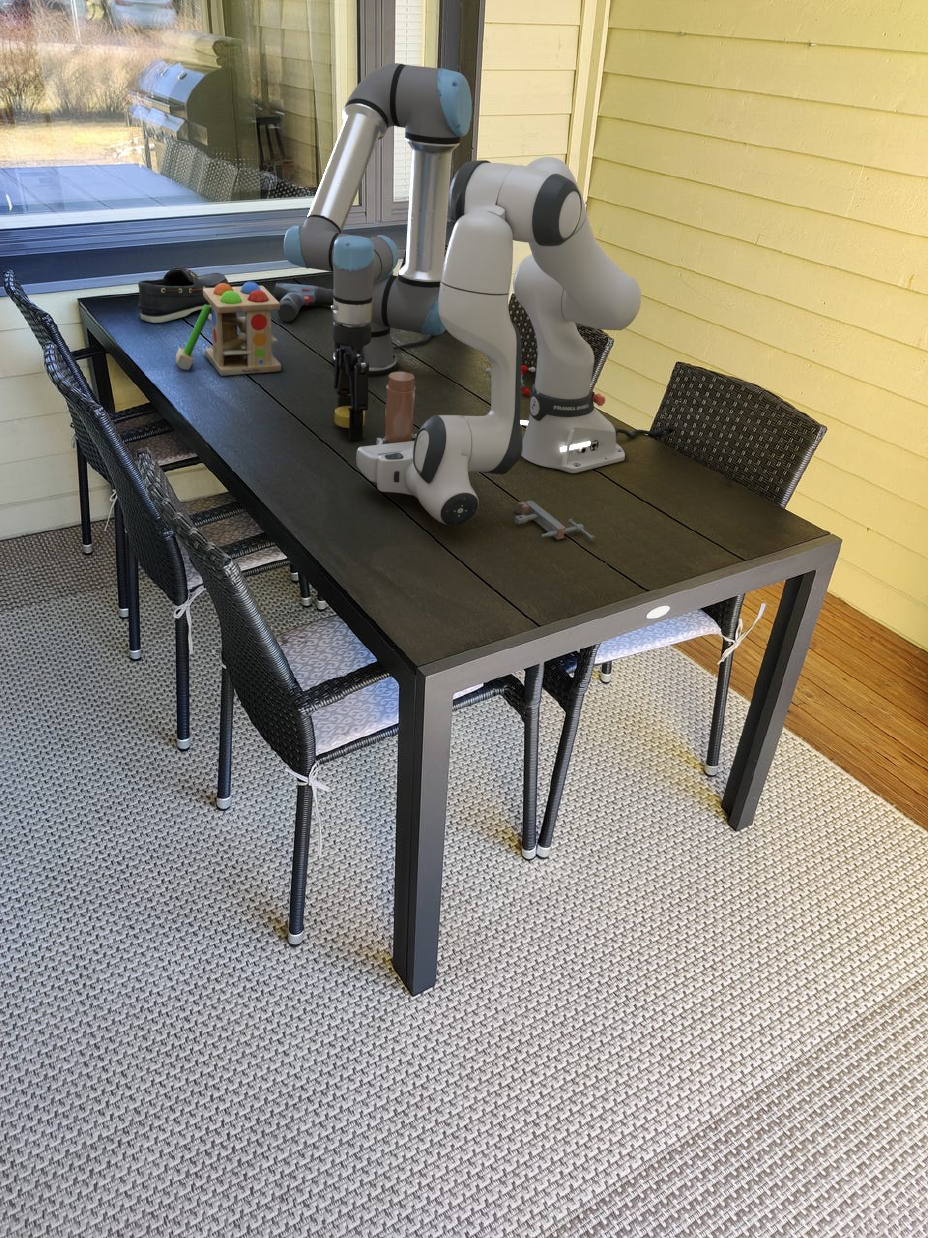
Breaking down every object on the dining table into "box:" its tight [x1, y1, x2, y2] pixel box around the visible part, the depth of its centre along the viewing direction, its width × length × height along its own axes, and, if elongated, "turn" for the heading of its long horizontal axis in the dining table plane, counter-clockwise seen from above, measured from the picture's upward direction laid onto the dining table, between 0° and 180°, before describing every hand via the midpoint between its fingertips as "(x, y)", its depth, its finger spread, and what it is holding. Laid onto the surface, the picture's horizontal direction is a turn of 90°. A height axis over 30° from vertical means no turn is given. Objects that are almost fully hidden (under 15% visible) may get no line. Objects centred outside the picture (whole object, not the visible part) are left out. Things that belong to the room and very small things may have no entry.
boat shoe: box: [137, 266, 230, 324], centre depth 260 cm, size 13×33×10 cm, turn 147°
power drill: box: [274, 282, 334, 322], centre depth 265 cm, size 5×19×20 cm
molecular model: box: [485, 365, 536, 397], centre depth 227 cm, size 12×10×10 cm
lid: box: [333, 406, 366, 429], centre depth 202 cm, size 6×6×2 cm
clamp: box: [514, 500, 596, 542], centre depth 176 cm, size 15×2×10 cm
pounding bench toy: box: [174, 281, 282, 377], centre depth 225 cm, size 23×14×18 cm, turn 116°
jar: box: [383, 371, 417, 444], centre depth 185 cm, size 5×5×20 cm
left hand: (349, 431), depth 204 cm, fingers closed on lid, 6 cm apart
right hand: (396, 439), depth 188 cm, fingers closed on jar, 5 cm apart
